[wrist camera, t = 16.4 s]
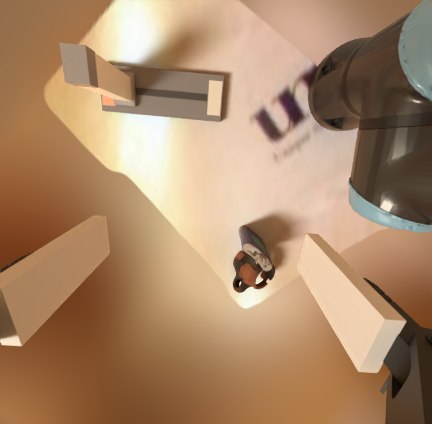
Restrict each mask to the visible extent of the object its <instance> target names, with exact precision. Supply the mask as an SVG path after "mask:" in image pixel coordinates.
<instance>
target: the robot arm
mask: <svg viewBox="0 0 432 424" xmlns="http://www.w3.org/2000/svg"><path fill="white" fill-rule="evenodd" d="M308 101H309V107H310V110H311V113H312V115H313V117H314V118H315V120H316V121H317V122H318V123H319V124H320V125H322V126H323V127H325V128H327V129H330V130H334V131H346V130H353V129H356V128H359V129H358V134H357V140H356V146H355V153H354V159H353V166H352V172H351V177H350V178H349V186H350V188H349V198H348V199H349V204H350V205H351V207H352V209H353V210H354V211H355V212H356V213H358V214H359V215H361V216H362V217H364V218H366V219H368V220H370V221H372V222H375V223H377V224H380V225H383V226H386V227H389V228H393V229H398V230H403V229H407V230H409V231H411V232H432V0H424V1H423V2H422V3H420V4H419V5H418V6H417V7H416V8H415V9H413V10H412V11H410V12H409V13H407V14H406V15H404V16H403V17H401V18H400V19H398V20H397V21H395V22H394V23H392V24H391V25H389V26H388V27H386V28H385V29H383V30H382V31H380V32H379V33H378V34H376V35H374V36H373V37H369V38H360V39H355V40H352V41H349V42H347V43H345V44H343V45H341V46H339V47H338V48H336V49H335V50H334V51H332V52H331V53H330V54H329V55H327V56H326V57H325V58H324V59H323V61H322V62H321V63H320V64H319V66H318V67H317V69H316V70H315V72H314V74H313V77H312V79H311V82H310V86H309V93H308ZM109 254H110V248H109V239H108V231H107V222H106V216H97V215H94V216H92V217H90V218H89V219H87V220H86V221H84V222H82V223H81V224H79V225H78V226H76V227H74V228H73V229H71V230H69V231H68V232H66V233H65V234H63V235H61V236H60V237H58V238H56V239H55V240H53V241H52V242H50V243H48V244H47V245H45V246H44V247H42V248H40V249H39V250H37V251H35V252H33V253H30V254H28V255H25V256H23V257H21V258H19V259H17V260H16V261H14V262H13V263H11V264H10V265H7V266H6V267H4V268H3V269H1V271H0V342H1V344H2V345H13V346H23V344H24V343H25V342H26V341H27V340H28V339H29V338H30V337H31V336H32V335H33V334H34V333H35V332H36V331H37V330H38V328H40V327H41V325H42V324H43V323H44V322H45V321H46V320H47V319H48V318H49V317H50V316H51V315H52V314H53V313H54V312H55V311H56V310H57V309H58V308H59V306H60V305H61V304H62V303H63V302H64V301H65V300H66V299H67V298H68V297H69V296H70V295H71V294H72V293H73V292H74V291H75V290H76V288H77V287H78V286H79V285H80V284H81V283H82V282H83V281H84V280H85V279H86V278H87V277H88V276H89V275H90V274H91V273H92V271H94V269H95V268H96V267H97V266H98V265H99V264H100V263H101V262H102V261H103V260H104V259H105V258H106V257H107V256H108V255H109ZM297 269H298V271H299V272H300V274H301V276H302V277H303V279H304V281H305V283H306V284H307V286H308V288H309V289H310V291H311V293H312V294H313V296H314V297H315V299H316V301H317V303H318V304H319V306H320V308H321V309H322V311H323V313H324V314H325V316H326V318H327V320H328V321H329V323H330V325H331V326H332V328H333V329H334V331H335V333H336V334H337V336H338V338H339V339H340V341H341V343H342V345H343V346H344V348H345V350H346V352H347V353H348V355H349V356H350V358H351V360H352V362H353V363H354V365H355V367H356V368H357V370H358V371H359V372H371V373H378V371H379V369H380V368H381V366H382V364H383V362H384V363H385V365H386V366H387V367H388V369H389V370H390V372H391V373H390V375H389V376H388V378H387V379H386V381H385V383H384V385H383V386H382V388H381V390H380V392H381V393H383V394H384V392H385V391H386V390H387V399H386V423H385V424H432V330H431V329H429V328H423V327H420V326H419V325H418V324H417V323H416V322H415V321H414V320H413V319H412V318H411V317H410V316H409V315H407V313H405V312H404V311H403V310H402V309H401V308H400V307H399V306H398V305H397V304H396V303H395V302H393V301H392V300H391V298H390V297H388V296H387V295H385V293H384V292H383V291H382V290H381V289H380V288H379V287H378V286H377V285H375V284H374V283H372V282H371V281H369V280H367V279H366V278H362V277H361V276H360V275H359V274H358V273H357V272H356V271H355V270H354V269H353V268H352V267H351V266H350V265H349V264H348V263H347V262H346V261H345V260H344V259H343V258H342V257H341V256H340V255H339V254H338V253H337V252H336V251H335V250H334V249H333V248H332V247H331V246H330V245H329V244H327V243H326V242H325V241H324V240H323V239H322V238H321V237H320V236H319V235H318V234H306V238H305V242H304V245H303V249H302V253H301V256H300V260H299V264H298V267H297Z"/></svg>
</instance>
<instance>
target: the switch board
mask: <svg viewBox="0 0 432 424" xmlns="http://www.w3.org/2000/svg"><path fill="white" fill-rule="evenodd" d="M113 66H115V67H116V68H117V69H119V70H120V71H122V72H132V73H134V74H135V91H136V107H133V106H123V105H115V104H114V99H113V98H110V97H107V96H104V95H102V94H101V100H102V110H103V111H109V112H120V113H131V114H141V115H152V116H163V117H173V118H184V119H195V120H205V121H216V122H220V120H221V108H222V96H223V85H224V76H223V75H213V74H202V73H192V72H182V71H171V70H161V69H151V68H140V67H130V66H120V65H113Z"/></svg>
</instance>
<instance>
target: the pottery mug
mask: <svg viewBox="0 0 432 424" xmlns="http://www.w3.org/2000/svg"><path fill="white" fill-rule="evenodd" d="M244 256H245V254H244V253H242V251H240V252H239V253H238V254H237V255H236V257H235V259H234V262H233V265H234V267H235V270H236V277H235V279H234V281H233V287H234V290H235V291H236V292H239V293H241V292H244V291H245V290H246V289H247V288H249V287H251V286H252V287H254V288H255V289H261V288H263V287H265V286H266V285H267V282H266V281H267V279H268V278H269V280H272V278H273V277H274V274H275V267H274V266H273V265H272V266H273V267H272V269H271V270H270V271H267V272H264V271H263V272H262V273H261V278H263V279H264V280H263V281H262V282H260V283H259V284H255V282H256V278H257V276H258V275H259V273H260V272H261V271H262V270H263V269H262V268H261V266H260V264H259V263H258V262H257V263H258V264H256V260H255V259H253V260H254V262H255V269H254V268H253V267H252V266H251V265H250V264H249V263H245V264H244V263H242V262H241V260H242V258H243V257H244ZM240 281H241V285H240V287H239V283H240Z"/></svg>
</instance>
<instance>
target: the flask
mask: <svg viewBox="0 0 432 424" xmlns="http://www.w3.org/2000/svg"><path fill="white" fill-rule="evenodd" d="M239 234H240V239H241V244H242V249H243V251H244V252H246V253H247V254H249V255H250V256H251V257H252V258H254V259H255V260H256V264H258V263H259V264H260V266H261V268H262V269H263V270H264V271H270V270H271V269H272V267H273V266H272V263H271V260H270V258H269V255H268V253H267V250H266V247H265V245H264V242H263V241H262V240H261V238H260V237H259V236H258V235H256V234H255V233H254V232H253V231H251V230H250V229H249V228H247V227H245V226H242V227H240V228H239ZM257 262H258V263H257Z"/></svg>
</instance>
